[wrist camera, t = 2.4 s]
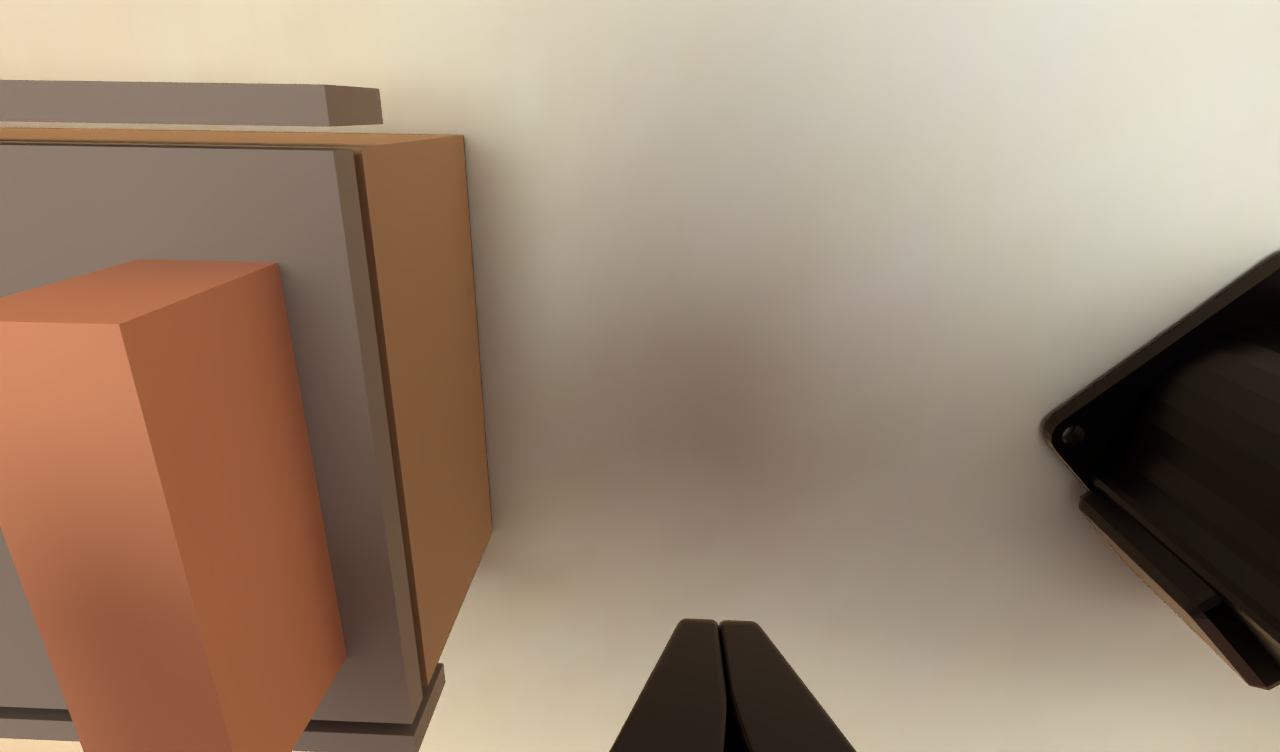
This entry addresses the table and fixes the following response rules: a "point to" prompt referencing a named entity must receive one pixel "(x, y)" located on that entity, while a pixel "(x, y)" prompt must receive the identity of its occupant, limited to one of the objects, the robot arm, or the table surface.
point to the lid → (196, 436)
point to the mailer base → (403, 343)
